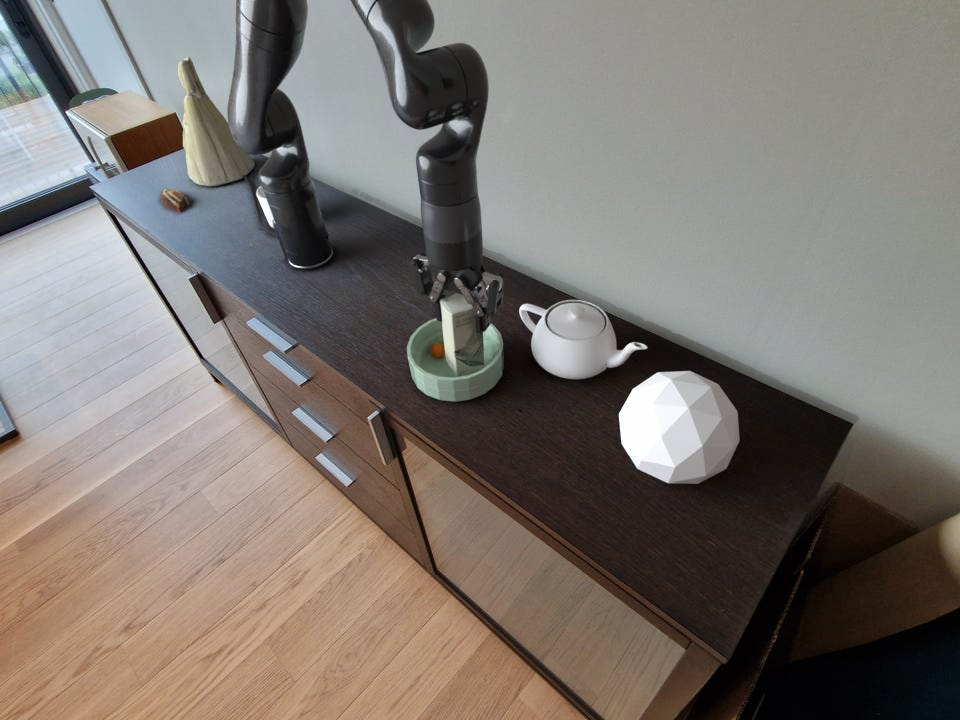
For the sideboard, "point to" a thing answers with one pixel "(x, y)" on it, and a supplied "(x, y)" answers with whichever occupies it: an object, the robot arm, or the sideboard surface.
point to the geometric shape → (679, 427)
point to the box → (461, 335)
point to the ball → (438, 350)
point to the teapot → (575, 339)
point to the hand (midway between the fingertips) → (461, 323)
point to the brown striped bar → (175, 200)
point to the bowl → (437, 373)
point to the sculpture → (208, 136)
